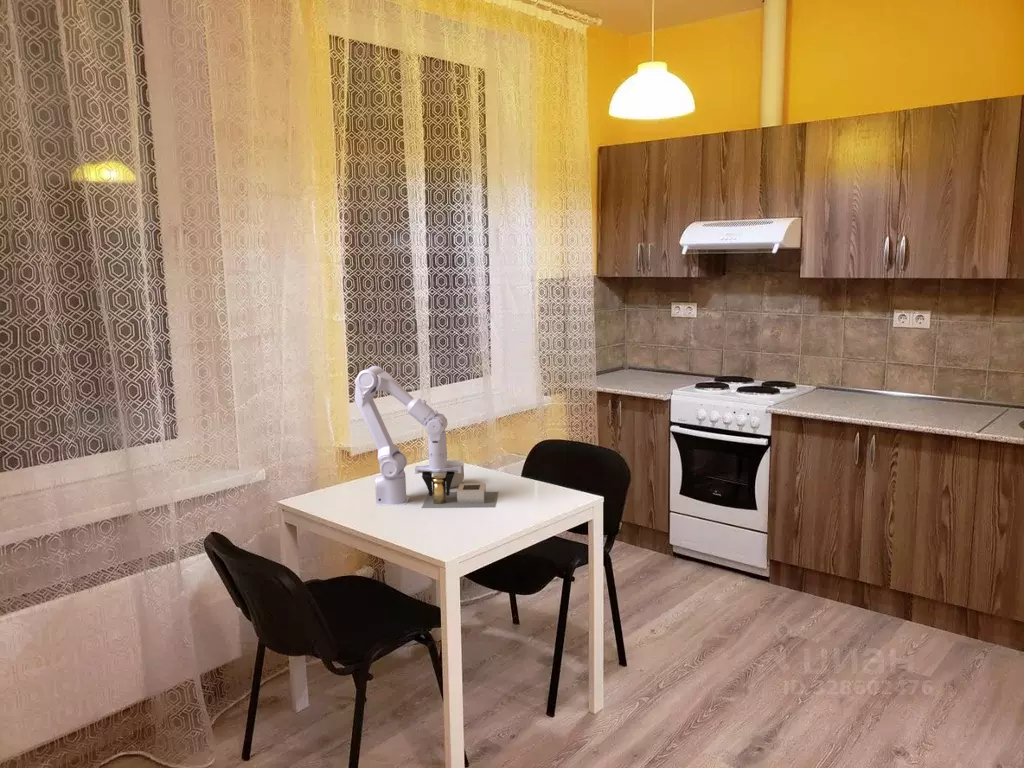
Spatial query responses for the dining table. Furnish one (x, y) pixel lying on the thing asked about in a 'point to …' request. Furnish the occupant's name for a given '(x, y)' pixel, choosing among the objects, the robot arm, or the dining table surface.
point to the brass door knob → (439, 489)
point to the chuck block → (471, 493)
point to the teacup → (457, 477)
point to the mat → (452, 503)
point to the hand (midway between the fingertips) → (439, 494)
